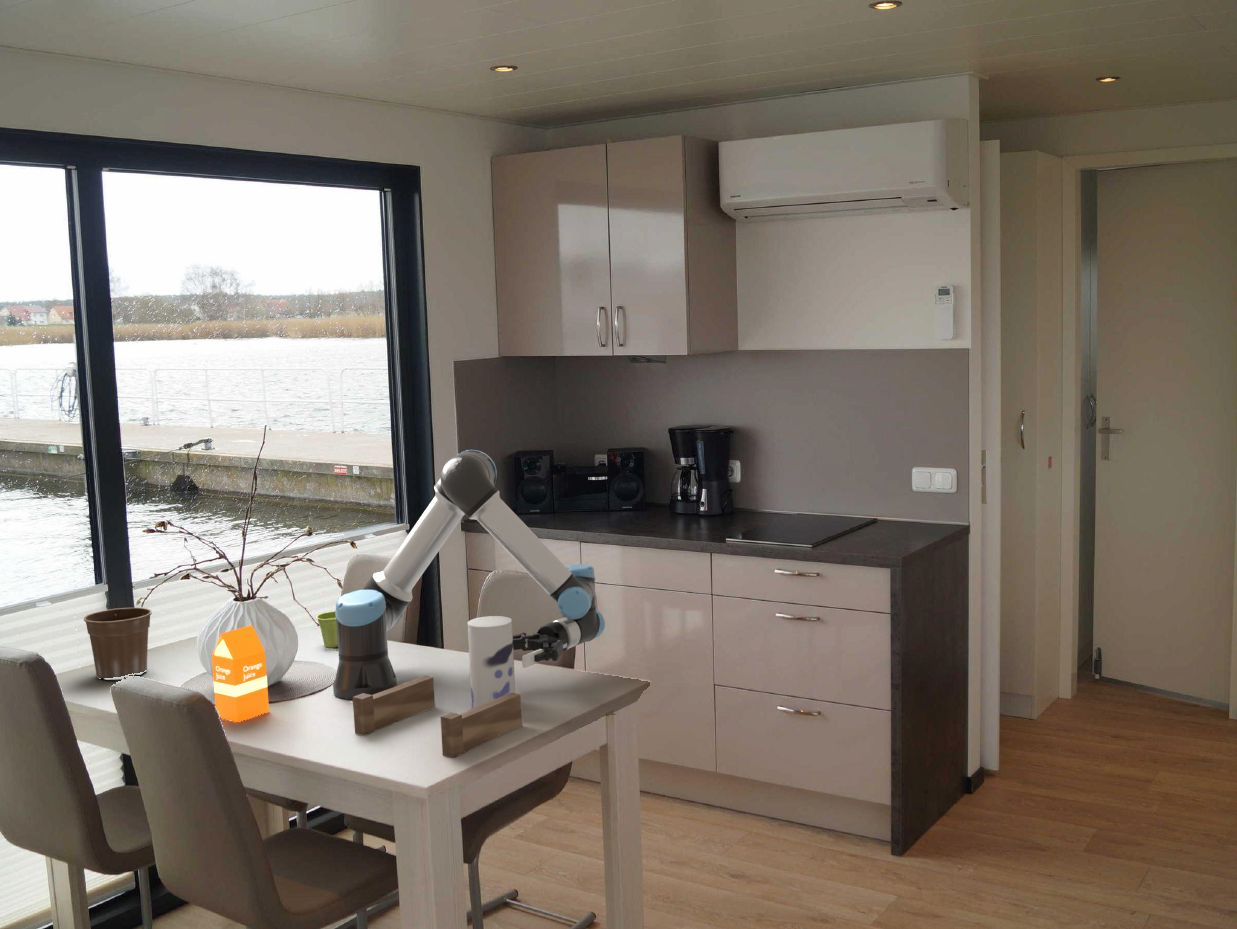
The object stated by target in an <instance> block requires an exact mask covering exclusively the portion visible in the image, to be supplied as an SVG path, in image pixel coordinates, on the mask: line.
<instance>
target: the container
mask: <svg viewBox="0 0 1237 929" xmlns="http://www.w3.org/2000/svg"><path fill="white" fill-rule="evenodd" d="M513 635H514V633H513V619H512V618H511V617H507V616H503V615H502V616H501V615H499V616H498V615H489V616H481V617H480V616H479V617H475V618H472V619H470V620H468V621H467V636H468V637H467V638H468V658H469V673H470V674H469V677H470V678H469V679H470V696H471V709H473V708H476V707H478V706H480V705H483V704H485V703H488V702H490V701H493V700H495V699H497V698H500V697H502V696H505V695H507V694H509V693H516V681H515V657H514V650H513Z"/></svg>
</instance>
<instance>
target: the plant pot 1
mask: <svg viewBox="0 0 1237 929" xmlns="http://www.w3.org/2000/svg"><path fill="white" fill-rule="evenodd" d="M152 614H153V611H152V609H149V608H147V607H146V608H145V607H121V608H120V607H118V608H111V609H106V610H101V611H96V612H92V613H90V614H87V615H85V616H84V617H83V621H84V622H85V624H86V625H85V626H86V630H87V634H88V636H89V638H90V639H89V640H90V645H91V649H92V657H93V663H94V668H95V669H94V670H95V674H96V677H97V676H98V677H99V678H113V677H121V676H125V675H128V674H132V673H133V674H134V673H140V672H144V671H145V670H147V671H148V650H149V649H148V648H149V647H148V644H149V643H148V642H149V628H150V627H151V615H152ZM129 676H133V675H129ZM124 678H125V677H124Z"/></svg>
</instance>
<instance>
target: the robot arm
mask: <svg viewBox="0 0 1237 929" xmlns="http://www.w3.org/2000/svg"><path fill="white" fill-rule="evenodd" d="M497 474H498V471H497V467H496V464H495V462H494V461H493V459H492V458H491V456H489V455H488V454H487V453H485V452H483V451H481V450H475V449H467V450H463V451H461V452H459V453H458V454H457V455H455V456H453V457H452V458H450V459H449V460H448V461H446V463H445V464H444V466H443V467H442V470H441V473H440V478H439V479H438V480H437V482H436V483H435V484H434V486H433V488H434V493H435V494H434V497H433V499H432V500H431V502H429V504H428V506H427V507H426V509H425V510H424V511H423V513H422V514H421V516H420V517H419V518H418V520H417V521H416V523H415V524H414V526H413V527H412V529H411V530H410V532H409V533H408V534H407V535H406V537H405V539H404V540H403V541H402V543H401V544H400V546H399V547H398V549H397V550H396V552H395V553H394V554H393V556H392V557H391V559H390V560H389V562H388V563H387V564H386V566H385V568H383V570H382V571H378V572H377V571H376V572H374V573H373V574H372V576H371V577H370V578H369V580H368V582H366V584H365V585H364V587H363V588H362V589H358V590H353V591H350V592H348V593H344V594H342V595H341V596H339V598H337V601H336V603H335V610H334V611H335V616H336V622H337V637H338V646H337V647H338V648H337V649H338V664H337V670H336V673H335V679H334V681H333V683H332V684H333V685H332V688H333V690H332V691H333V695H335V697H337V698H340V699H345V700H346V699H347V700H353V697H354V696H357V695H360V694H362V693H365V694H369V695H374V694H376V693H379V692H382V691H385V690H387V689H390V688H393V687H396V686H398V678H397V675H396V674H395V671H394V667H393V665H392V663H391V659H390V658H389V651H388V650H389V649H388V632H389V631H390V630H391V629H393V627H394V626H396V625H397V624H398V623H399V622H400V620H401V619H402V617H403V613H404V612H405V610H406V609H407V607H408V606H409V604H410V603H411V602H412V600H413V592H412V590H413V588H414V587H415V585H416V584H417V583H418V582H419V579H421V577H422V575H423V574H424V573H425V571H426V570H427V568H428V567H429V566H430V564H431V563H432V561H433V560H434V558H435V557H436V555H438V553H439V551H440V550H441V549H442V547H443V546H444V544H445V543H446V541H447V540H448V539H449V537H450V536H451V534H452V533H453V531H454V530H455V529H456V527H457V526H458V524H459V523H460V521H461V520H462V519H463V517H464V516H466V517H467V518H468V519H469V520H476V521H477V522H478V523H479V524H480V525H481V526H482V528H484V529H485V530H486V531H487V532H488V533H489V534H490V535H491V536H492V537H493V539H495V541H496V542H497V543H498V544H500V546H501V547H502V548H503V550H505V551H506V552H507V553H508V554H509V555H510V556H511V557H512V558H513V559H514V560H515V561H516V562H517V563H518V565H520V567H521V568H523V570H524V571H525V572H526V573H527V574H528V575H529V576H530V577H531V578H532V579H533V580H534V581H535V582H536V583H537V584H538V585H539V586H540V587H541V588H542V589H543V590H544V591H545V592H546V593H547V594H548V595H549V596H550V598H551V599H552V600H553V601H555V603H556V605H557V607H558V610H559V611H560V613H561V614H562V616H564V617H562V618H558V619H555V620H554V621H551V622H549V623H546V624H543V625H541V626H540V627H539V629H538V630H537V632H536V633H532V634H527V633H526V632H522V633H519V634H513V651H516V650H522V651H523V652H527V651H528V653H526V654H523V655H522V656H521V657H522V658H521V662H522V668H523V669H526V668H529V667H531V666H534V665H537V664H538V663H541V662H543V661H547V662H548V661H550V659H551V660H552V661H553V662H556V661H558V660H559V659H560V657H561V656H562V655H563V653H564V652H567V651H568V650H569V649H570V648H573V647H577V646H578V645H582V644H583V643H586V642H587V643H588V642H591V641H592V640H595V639H596V638H598V637H599V636H601V635H602V634H603V632H604V630H605V627H606V625H605V624H606V622H605V619H604V617H603V614H602V613H601V612H600V611H599V610H598V609H597V606H596V577H595V569H594V567H593V566H592V565H589V564H581V563H580V564H571V565H568V566H566V565H565V564H564V563H563V562H562V561H561V560H560V559H559V558H558V557H557V555H555V554H554V553H553V551H551V550H550V548H548V546H547V545H546V544H544V542H543V541H542V540H541V539H540V538H539V537H538V536H537V535H536V534H535V533H534V532H533V531H532V530H531V529H530V528H529V526H527V525H526V523H524V521H523V520H522V519H521V518H520V517H519V516H518V515H517V514H516V513H515V512H514V511H513V510H512V509H511V508H510V507H509V506H508V505H507V504H506V503H505V501H504V500H503V499H501V496H500V490H499V489H497V487H496V486H495V485H496V481H497V476H498V475H497ZM526 644H527V647H526ZM529 651H531V652H529Z"/></svg>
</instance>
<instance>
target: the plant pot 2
mask: <svg viewBox="0 0 1237 929" xmlns="http://www.w3.org/2000/svg"><path fill="white" fill-rule="evenodd" d="M335 611H336V610H334V611H333V610H332V611H327V612H322V613H319V614H317V615H316V616H315V619H316V620H317V622H318V624H319V628H320V632H321V637H322V641H323V646H325V647H326V648H328V649H329V648H333V649H335V648H337V647H338V637H337V622H336V616H335Z"/></svg>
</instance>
